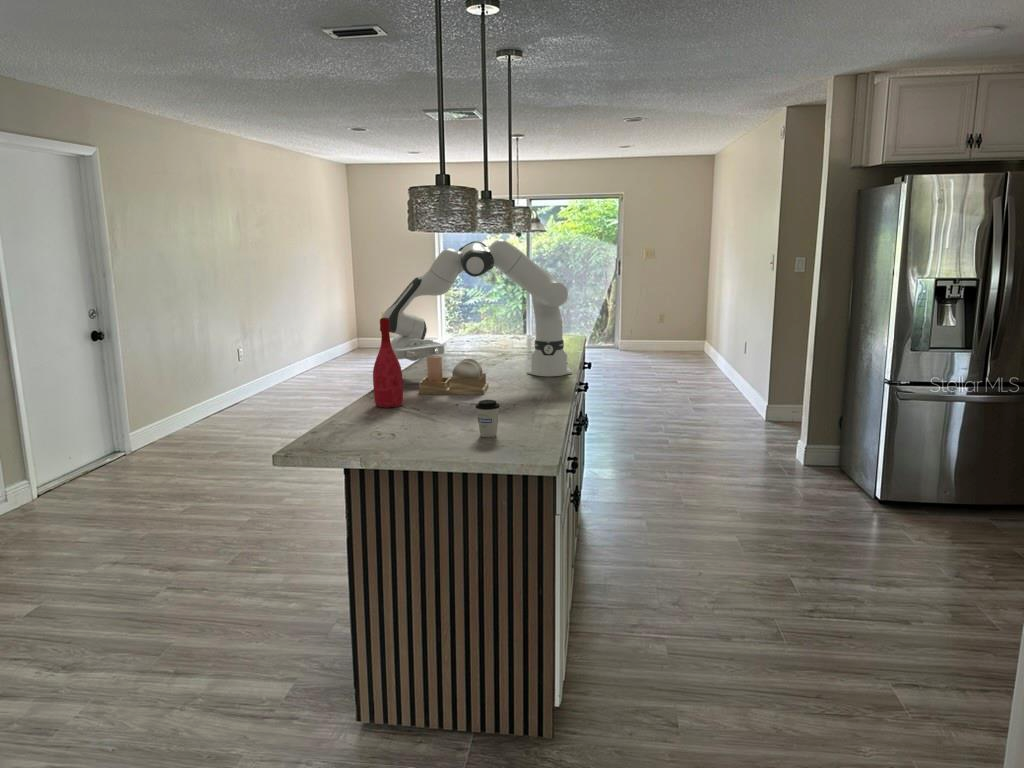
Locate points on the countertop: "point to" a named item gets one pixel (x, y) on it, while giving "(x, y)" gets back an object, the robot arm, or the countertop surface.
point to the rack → (458, 380)
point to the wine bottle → (387, 372)
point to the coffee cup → (488, 417)
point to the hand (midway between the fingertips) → (426, 353)
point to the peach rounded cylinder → (434, 369)
